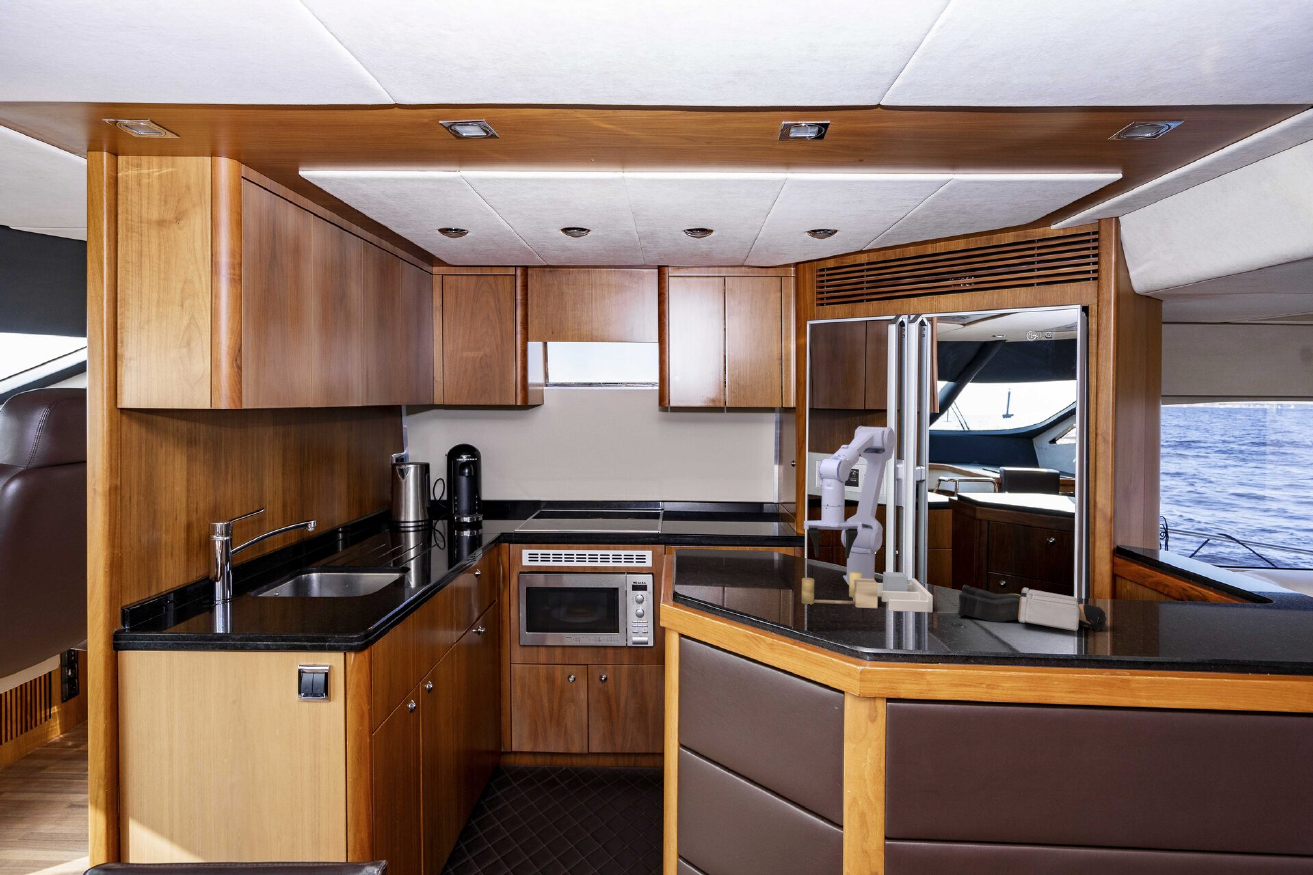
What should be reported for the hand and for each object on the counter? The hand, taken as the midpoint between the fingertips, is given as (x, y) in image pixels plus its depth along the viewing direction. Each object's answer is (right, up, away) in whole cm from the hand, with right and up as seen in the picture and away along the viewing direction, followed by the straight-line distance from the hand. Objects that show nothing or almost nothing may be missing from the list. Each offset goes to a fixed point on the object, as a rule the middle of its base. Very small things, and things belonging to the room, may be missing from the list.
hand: (831, 557), depth 189 cm
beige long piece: (0, -10, -8) cm, 13 cm away
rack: (+16, -10, -6) cm, 20 cm away
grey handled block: (+11, -10, -1) cm, 15 cm away
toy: (+41, -12, -20) cm, 47 cm away
